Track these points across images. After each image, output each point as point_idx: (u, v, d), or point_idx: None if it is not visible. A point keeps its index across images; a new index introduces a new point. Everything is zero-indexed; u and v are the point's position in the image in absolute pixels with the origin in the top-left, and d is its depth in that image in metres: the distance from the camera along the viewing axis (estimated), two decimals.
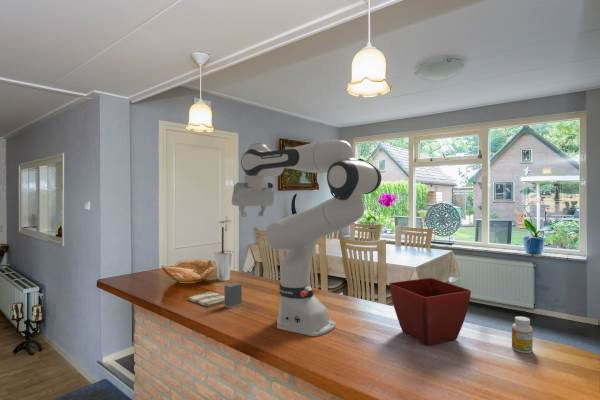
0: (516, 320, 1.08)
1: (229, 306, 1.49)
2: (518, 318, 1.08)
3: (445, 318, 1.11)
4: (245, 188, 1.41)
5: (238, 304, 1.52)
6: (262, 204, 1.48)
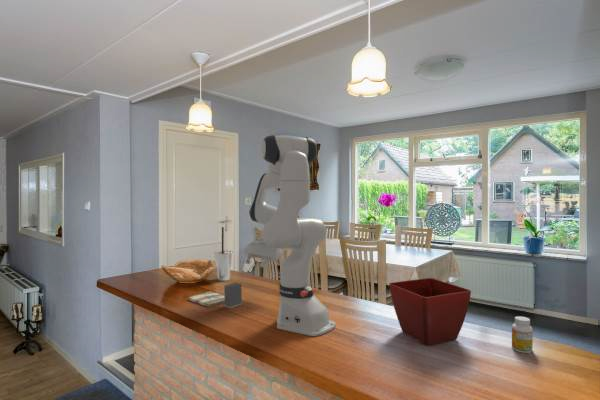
0: (516, 320, 1.08)
1: (229, 306, 1.49)
2: (518, 318, 1.08)
3: (445, 318, 1.11)
4: (256, 241, 1.70)
5: (238, 304, 1.52)
6: (262, 254, 1.61)
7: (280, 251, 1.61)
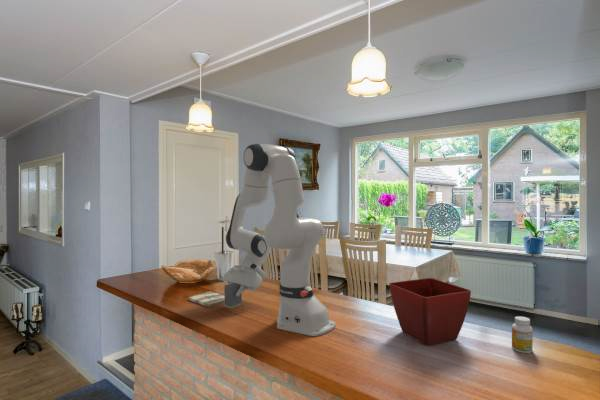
0: (516, 320, 1.08)
1: (229, 306, 1.49)
2: (518, 318, 1.08)
3: (445, 318, 1.11)
4: (235, 267, 1.60)
5: (238, 304, 1.52)
6: (241, 282, 1.51)
7: (260, 280, 1.51)
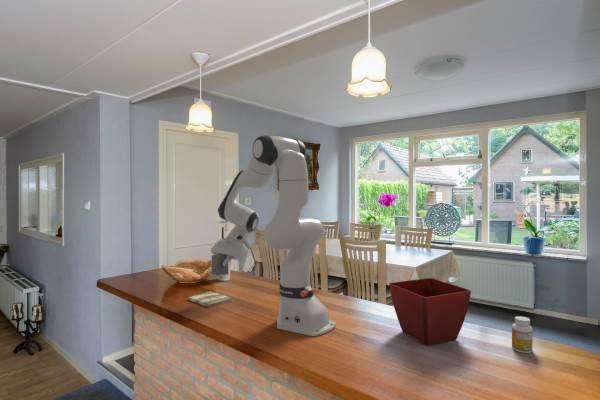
0: (516, 320, 1.08)
1: (216, 275, 1.55)
2: (518, 318, 1.08)
3: (445, 318, 1.11)
4: (223, 240, 1.66)
5: (225, 273, 1.58)
6: (228, 253, 1.57)
7: (246, 250, 1.56)
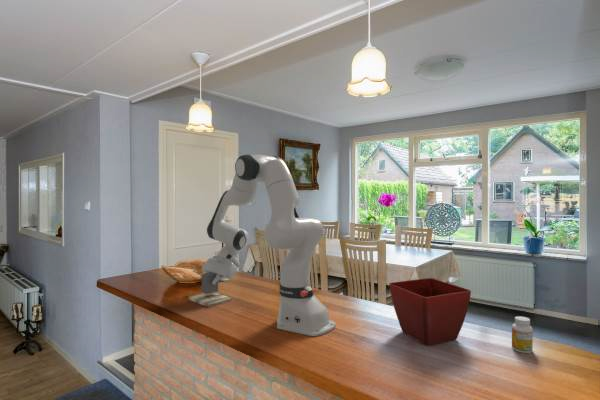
0: (516, 320, 1.08)
1: (206, 293, 1.60)
2: (518, 318, 1.08)
3: (445, 318, 1.11)
4: (213, 258, 1.71)
5: (215, 291, 1.63)
6: (217, 271, 1.62)
7: (235, 269, 1.62)
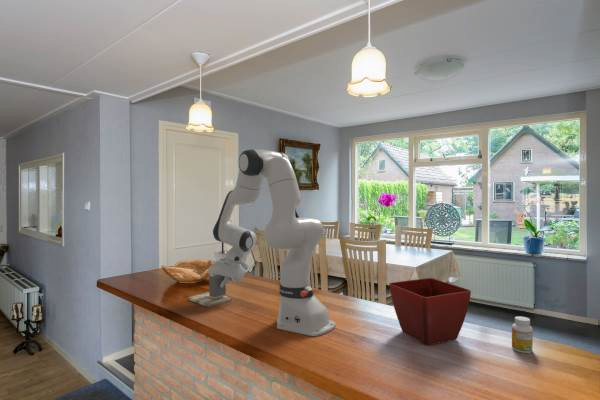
0: (516, 320, 1.08)
1: (213, 297, 1.56)
2: (518, 318, 1.08)
3: (445, 318, 1.11)
4: (220, 260, 1.68)
5: (222, 295, 1.59)
6: (225, 274, 1.58)
7: (243, 271, 1.58)
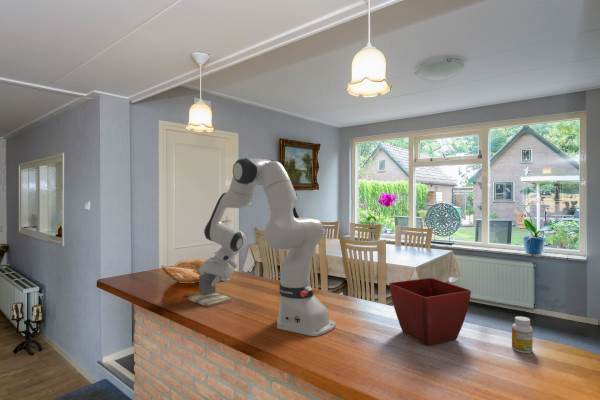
0: (516, 320, 1.08)
1: (203, 295, 1.61)
2: (518, 318, 1.08)
3: (445, 318, 1.11)
4: (210, 259, 1.73)
5: (212, 293, 1.64)
6: (214, 273, 1.63)
7: (231, 270, 1.63)
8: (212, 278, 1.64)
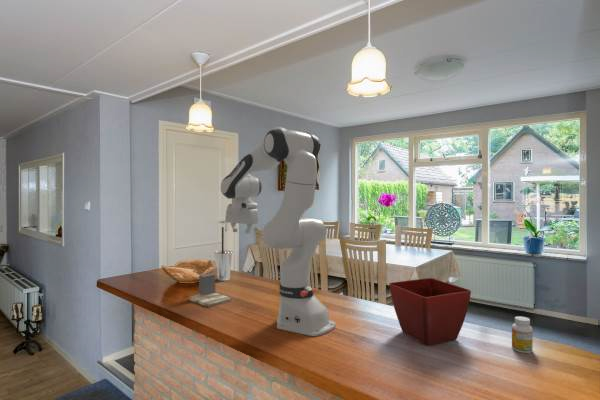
0: (516, 320, 1.08)
1: (203, 295, 1.61)
2: (518, 318, 1.08)
3: (445, 318, 1.11)
4: (230, 208, 1.73)
5: (212, 293, 1.64)
6: (242, 222, 1.67)
7: (256, 213, 1.65)
8: (212, 278, 1.64)
